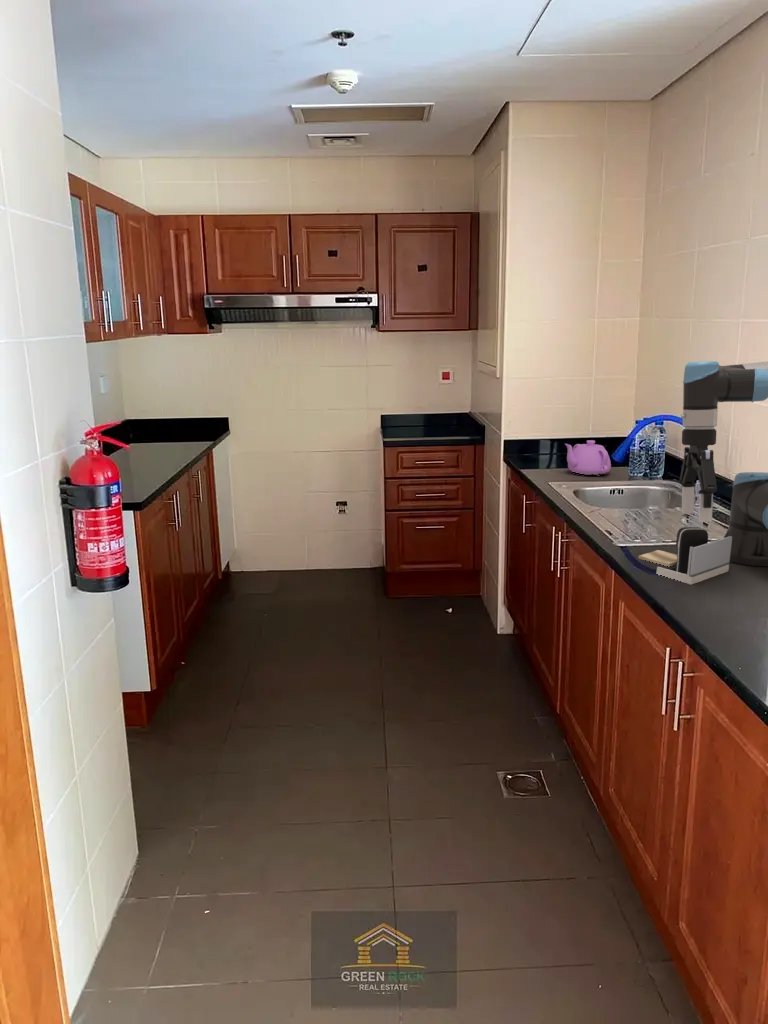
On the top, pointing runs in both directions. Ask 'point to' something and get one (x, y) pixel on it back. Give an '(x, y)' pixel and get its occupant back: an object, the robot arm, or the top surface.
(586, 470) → the teapot
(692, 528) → the battery charger
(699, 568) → the legged metal plate
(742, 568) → the top surface
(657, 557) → the oak pad
